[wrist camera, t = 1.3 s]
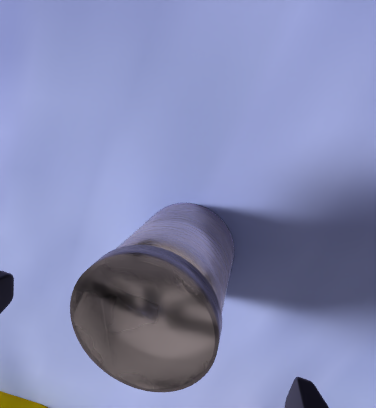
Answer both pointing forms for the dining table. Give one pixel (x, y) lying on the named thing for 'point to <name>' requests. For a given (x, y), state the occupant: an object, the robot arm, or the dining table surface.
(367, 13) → the dining table surface
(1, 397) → the element tile
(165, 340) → the lens
